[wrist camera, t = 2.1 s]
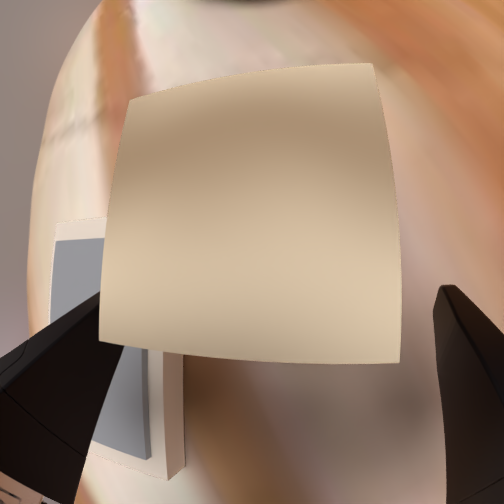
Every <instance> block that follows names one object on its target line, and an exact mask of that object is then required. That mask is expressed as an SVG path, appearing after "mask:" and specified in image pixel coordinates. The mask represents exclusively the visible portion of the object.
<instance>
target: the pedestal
mask: <svg viewBox="0 0 504 504" xmlns="http://www.w3.org/2000/svg"><path fill="white" fill-rule="evenodd" d="M106 222H107V217H100V218H91V219H83V220H74V221H66V222H59V223H56V229H55V236H54V244H53V252H52V262H51V273H50V288H49V309H48V325H50V324H51V323H52V322H54V321H55V320H57V319H58V318H60V317H61V316H63V315H64V314H66V313H67V312H69V311H70V310H72V309H73V308H75V307H76V306H78V305H79V304H81V303H82V302H84V301H85V300H87V299H88V298H90V297H91V296H93V295H94V294H96V293H98V292H99V291H100V288H101V273H102V260H103V249H104V239H105V231H106ZM88 451H89V452H91V453H93V454H95V455H98V456H100V457H102V458H105V459H107V460H109V461H112V462H114V463H117V464H120V465H122V466H125V467H127V468H130V469H133V470H136V471H138V472H141V473H144V474H147V475H150V476H153V477H156V478H160V479H163V480H166V481H168V480H169V479H171V478H172V477H173V476H174V475H175V474H177V473H178V472H179V471H180V470H181V469H182V468H184V467H185V450H184V417H183V354H178V353H170V352H163V351H156V350H149V349H143V348H137V347H130V346H124V349H123V352H122V355H121V358H120V360H119V363H118V365H117V368H116V371H115V373H114V376H113V379H112V382H111V384H110V387H109V390H108V393H107V396H106V398H105V401H104V404H103V407H102V410H101V413H100V416H99V419H98V422H97V425H96V428H95V431H94V434H93V437H92V440H91V444H90V447H89V450H88Z"/></svg>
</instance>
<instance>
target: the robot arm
mask: <svg viewBox="0 0 504 504" xmlns="http://www.w3.org/2000/svg"><path fill="white" fill-rule="evenodd" d="M99 310H100V291H99V292H98V293H96V294H94V295H93V296H91V297H90V298H88V299H87V300H85V301H84V302H82V303H81V304H79V305H78V306H76V307H75V308H73V309H72V310H70V311H69V312H67V313H66V314H64V315H63V316H61V317H60V318H58V319H57V320H55V321H54V322H52V323H51V324H50V325H48V326H47V327H45V328H44V329H42V330H41V331H39V332H38V333H36V334H35V335H34V336H32V337H31V338H30V339H29V340H26V341H25V342H24V343H22V344H21V345H19V346H18V347H16V348H15V349H13V350H12V351H11V352H9V353H8V354H6V355H4V356H3V357H1V358H0V504H47V503H46V502H44V501H43V500H42V499H43V497H44V496H45V497H48V498H50V499H52V500H54V501H56V502H58V503H60V504H74V501H75V497H76V493H77V489H78V485H79V482H80V478H81V475H82V471H83V468H84V464H85V461H86V457H87V453H88V450H89V447H90V444H91V440H92V437H93V434H94V431H95V428H96V425H97V422H98V419H99V416H100V413H101V410H102V407H103V404H104V401H105V398H106V396H107V393H108V390H109V387H110V384H111V382H112V379H113V376H114V373H115V371H116V368H117V365H118V363H119V360H120V358H121V355H122V352H123V349H124V346H125V345H119V344H113V343H108V342H103V341H99ZM433 322H434V333H435V346H436V362H437V372H438V380H439V387H440V394H441V402H442V411H443V422H444V433H445V449H446V479H447V493H446V504H504V334H503V333H502V332H501V331H500V330H499V329H498V328H497V327H496V326H495V325H494V323H493V322H492V321H491V320H490V319H489V318H488V317H487V316H486V315H485V314H484V313H483V312H482V311H481V310H480V309H479V308H478V307H477V306H476V305H475V304H474V303H473V302H472V301H471V300H470V299H469V298H468V297H467V296H466V295H465V294H464V293H463V292H462V291H461V290H460V289H459V288H458V287H457V286H455V285H441V286H440V287H439V290H438V293H437V297H436V301H435V304H434V308H433Z"/></svg>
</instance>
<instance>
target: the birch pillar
mask: <svg viewBox="0 0 504 504" xmlns="http://www.w3.org/2000/svg"><path fill="white" fill-rule="evenodd" d="M401 310H402V287H401V253H400V236H399V222H398V210H397V200H396V190H395V182H394V174H393V166H392V159H391V153H390V146H389V140H388V134H387V129H386V123H385V118H384V113H383V108H382V103H381V98H380V94H379V89H378V85H377V81H376V76H375V72H374V68H373V64H372V63H349V64H326V65H311V66H299V67H288V68H279V69H271V70H263V71H256V72H250V73H243V74H237V75H231V76H226V77H220V78H215V79H210V80H205V81H201V82H196V83H191V84H187V85H183V86H179V87H175V88H171V89H167V90H163V91H159V92H156V93H152V94H148V95H145V96H141V97H138V98H135V99H132V100H130V102H129V106H128V110H127V114H126V118H125V122H124V126H123V131H122V135H121V140H120V144H119V149H118V154H117V159H116V165H115V170H114V176H113V181H112V188H111V194H110V200H109V207H108V215H107V222H106V231H105V239H104V249H103V260H102V273H101V288H100V310H99V341H103V342H108V343H113V344H119V345H125V346H130V347H137V348H143V349H149V350H156V351H163V352H170V353H178V354H186V355H194V356H203V357H213V358H223V359H234V360H247V361H261V362H279V363H304V364H381V363H399V362H400V344H401Z"/></svg>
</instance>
